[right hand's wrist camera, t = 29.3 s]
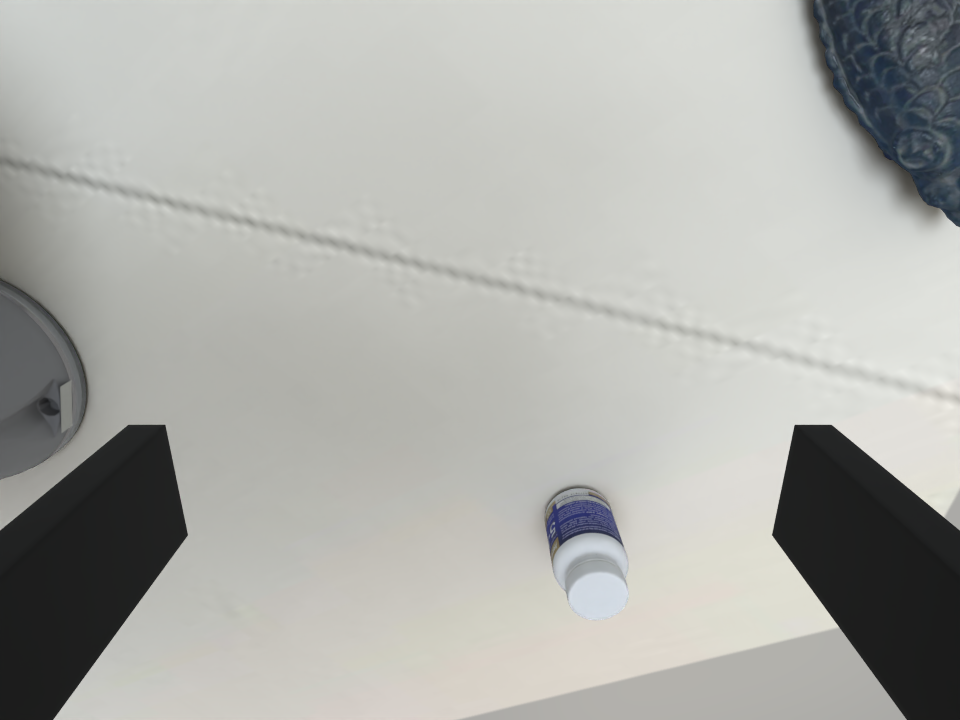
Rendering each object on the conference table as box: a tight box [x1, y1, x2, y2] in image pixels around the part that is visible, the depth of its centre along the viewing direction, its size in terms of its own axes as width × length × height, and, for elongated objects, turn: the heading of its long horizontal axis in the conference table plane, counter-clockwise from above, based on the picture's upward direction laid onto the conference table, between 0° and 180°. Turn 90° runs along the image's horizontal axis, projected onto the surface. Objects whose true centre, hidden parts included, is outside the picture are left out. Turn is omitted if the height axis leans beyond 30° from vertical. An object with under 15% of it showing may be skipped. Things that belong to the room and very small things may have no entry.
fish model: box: [813, 0, 960, 227], centre depth 34 cm, size 7×21×5 cm, turn 34°
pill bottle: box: [545, 488, 629, 620], centre depth 43 cm, size 5×5×9 cm
